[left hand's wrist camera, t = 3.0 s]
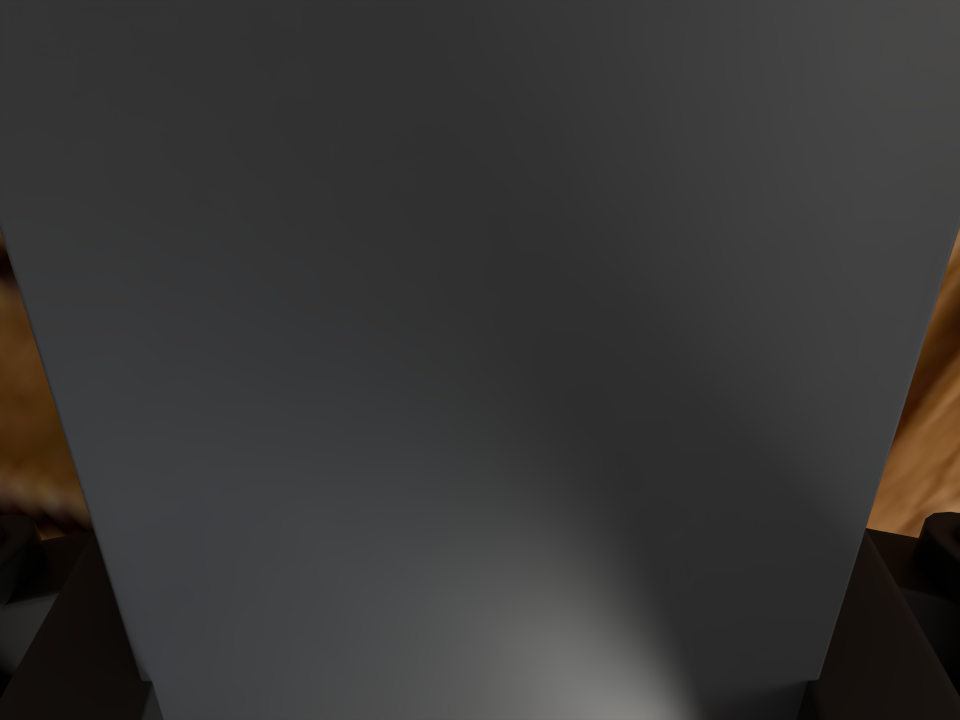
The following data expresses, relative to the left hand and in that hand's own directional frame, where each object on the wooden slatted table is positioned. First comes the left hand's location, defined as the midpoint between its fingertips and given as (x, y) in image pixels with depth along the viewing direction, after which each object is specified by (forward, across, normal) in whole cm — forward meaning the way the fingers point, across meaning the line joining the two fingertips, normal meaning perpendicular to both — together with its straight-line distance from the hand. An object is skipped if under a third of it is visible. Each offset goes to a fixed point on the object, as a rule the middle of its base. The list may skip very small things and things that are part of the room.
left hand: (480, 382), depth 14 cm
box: (+2, 0, -11) cm, 11 cm away
